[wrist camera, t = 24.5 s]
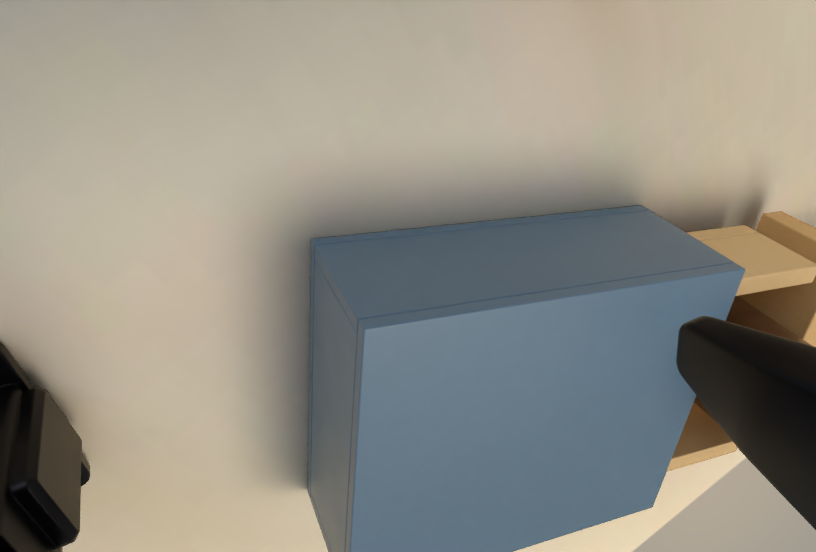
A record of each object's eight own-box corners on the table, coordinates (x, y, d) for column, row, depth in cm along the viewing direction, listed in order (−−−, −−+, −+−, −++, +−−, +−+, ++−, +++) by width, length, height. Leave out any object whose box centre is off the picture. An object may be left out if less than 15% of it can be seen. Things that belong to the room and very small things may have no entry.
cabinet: (642, 204, 27) (746, 269, 23) (579, 423, 33) (653, 507, 29) (310, 238, 22) (363, 329, 18) (307, 490, 28) (346, 605, 23)
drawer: (853, 202, 31) (938, 239, 28) (771, 380, 37) (835, 428, 33) (531, 239, 25) (595, 293, 21) (489, 450, 30) (535, 518, 27)
